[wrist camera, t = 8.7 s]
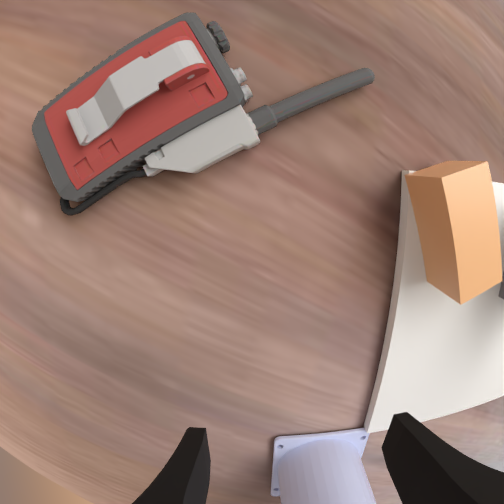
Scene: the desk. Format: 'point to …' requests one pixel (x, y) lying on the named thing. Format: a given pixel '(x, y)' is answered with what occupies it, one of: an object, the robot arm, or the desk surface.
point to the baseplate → (436, 338)
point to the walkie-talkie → (159, 112)
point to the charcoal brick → (502, 288)
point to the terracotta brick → (457, 227)
